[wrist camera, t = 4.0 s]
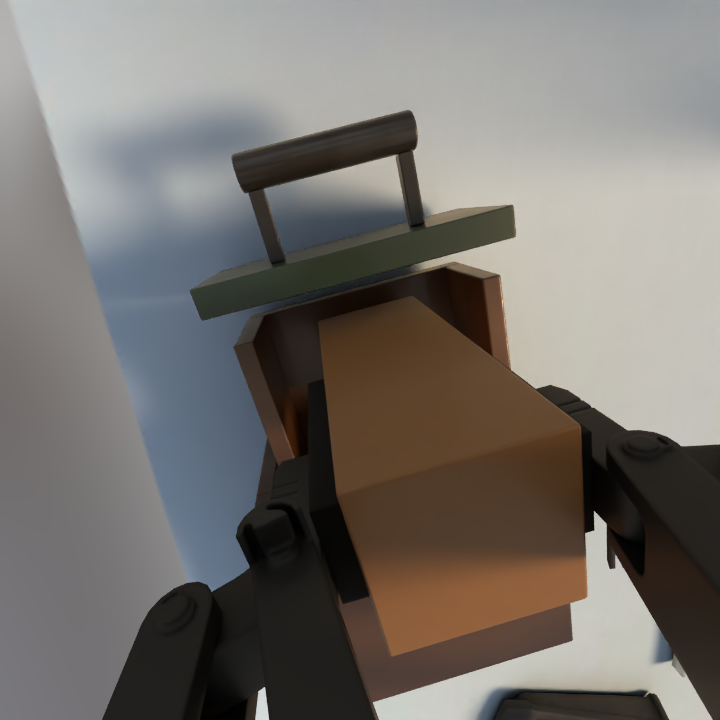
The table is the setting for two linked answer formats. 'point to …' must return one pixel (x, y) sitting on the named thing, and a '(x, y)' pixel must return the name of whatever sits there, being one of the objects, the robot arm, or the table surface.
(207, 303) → the drawer
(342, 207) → the table surface
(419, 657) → the cabinet
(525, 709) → the keyboard
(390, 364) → the block
